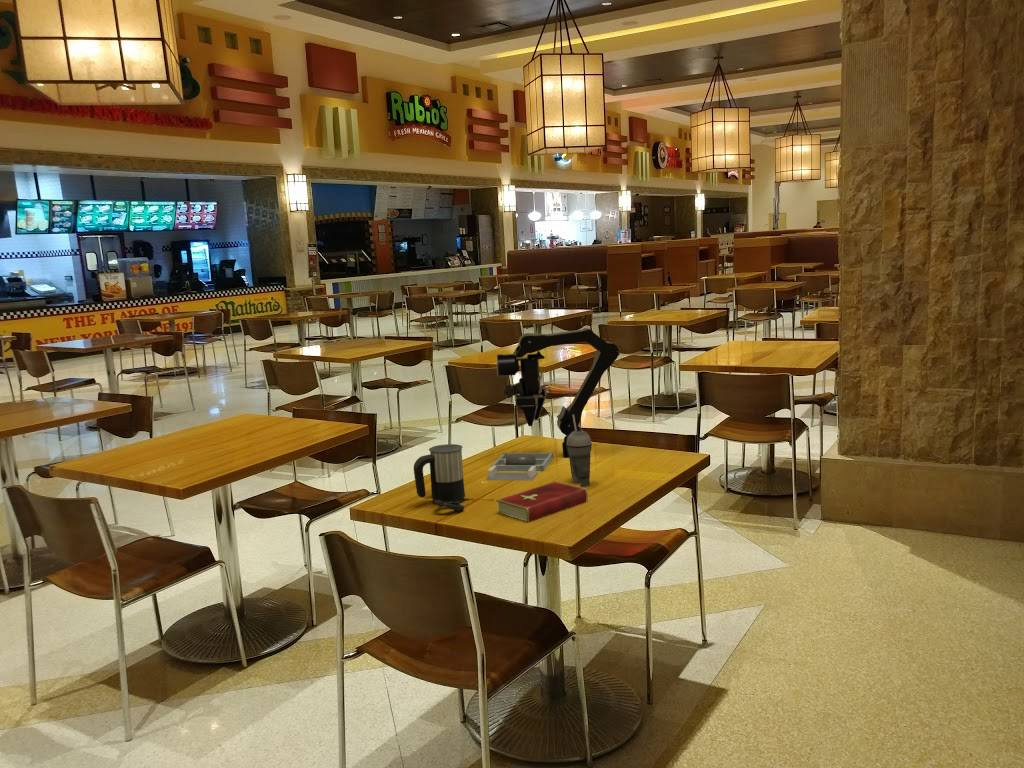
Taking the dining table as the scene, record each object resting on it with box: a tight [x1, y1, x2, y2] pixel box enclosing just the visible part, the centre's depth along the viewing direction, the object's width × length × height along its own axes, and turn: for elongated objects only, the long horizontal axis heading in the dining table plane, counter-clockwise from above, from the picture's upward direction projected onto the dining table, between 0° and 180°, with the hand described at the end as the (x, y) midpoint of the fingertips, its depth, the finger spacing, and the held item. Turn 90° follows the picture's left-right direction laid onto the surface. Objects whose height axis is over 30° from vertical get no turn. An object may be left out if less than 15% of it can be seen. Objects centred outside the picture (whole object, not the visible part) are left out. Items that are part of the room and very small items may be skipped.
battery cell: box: [504, 456, 536, 465], centre depth 251 cm, size 9×4×4 cm, turn 76°
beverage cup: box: [566, 415, 593, 487], centre depth 231 cm, size 7×7×20 cm
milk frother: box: [413, 443, 467, 512], centre depth 221 cm, size 14×16×15 cm
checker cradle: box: [485, 466, 539, 481], centre depth 242 cm, size 14×8×3 cm, turn 76°
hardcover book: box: [495, 480, 588, 523], centre depth 214 cm, size 12×21×4 cm, turn 131°
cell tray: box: [490, 452, 554, 472], centre depth 255 cm, size 16×15×2 cm
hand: (533, 422), depth 261 cm, fingers open, 9 cm apart
